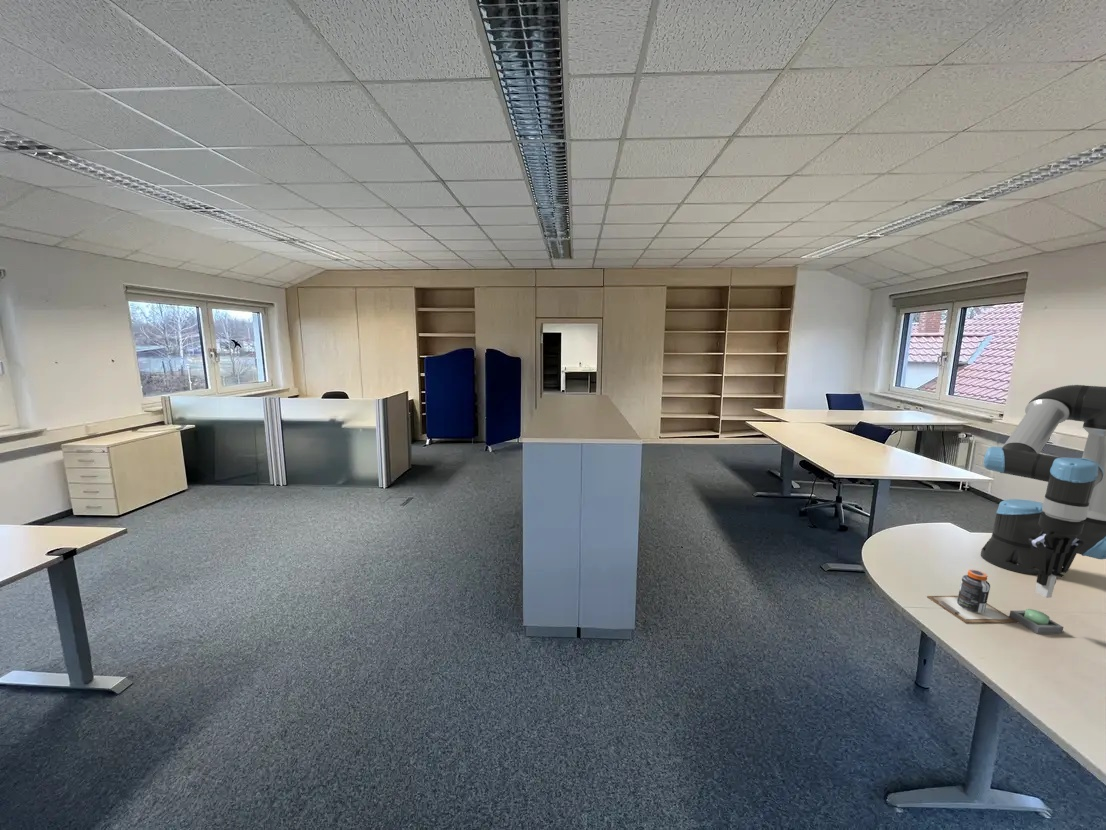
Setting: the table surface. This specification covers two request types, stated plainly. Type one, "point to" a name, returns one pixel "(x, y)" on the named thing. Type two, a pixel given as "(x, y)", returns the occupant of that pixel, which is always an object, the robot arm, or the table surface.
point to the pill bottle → (974, 591)
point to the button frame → (1039, 629)
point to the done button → (1037, 617)
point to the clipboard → (971, 617)
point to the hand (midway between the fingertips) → (1042, 594)
